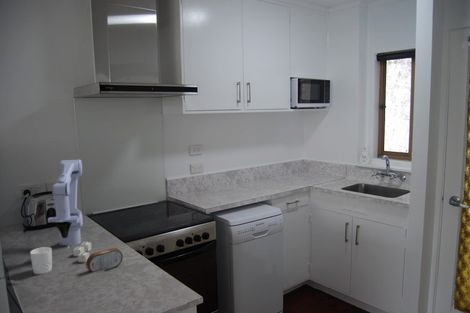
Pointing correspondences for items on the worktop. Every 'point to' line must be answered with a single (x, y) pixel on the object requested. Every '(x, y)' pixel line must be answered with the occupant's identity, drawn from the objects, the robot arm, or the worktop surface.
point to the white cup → (41, 260)
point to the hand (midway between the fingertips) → (65, 237)
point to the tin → (104, 259)
